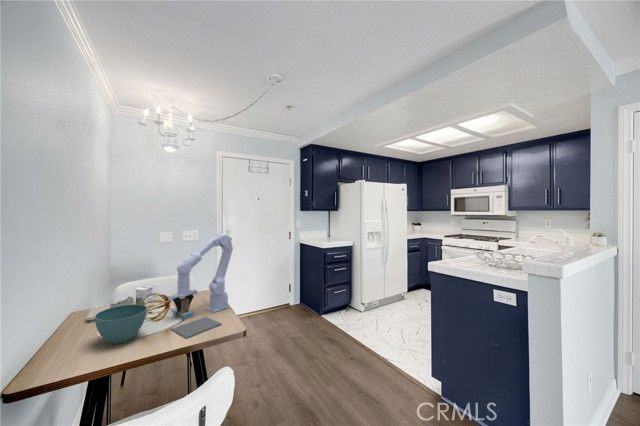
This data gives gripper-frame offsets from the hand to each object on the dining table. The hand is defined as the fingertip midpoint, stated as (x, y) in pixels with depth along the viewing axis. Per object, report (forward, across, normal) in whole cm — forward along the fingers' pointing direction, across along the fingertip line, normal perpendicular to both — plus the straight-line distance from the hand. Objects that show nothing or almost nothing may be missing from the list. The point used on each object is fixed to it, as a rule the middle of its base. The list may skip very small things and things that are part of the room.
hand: (183, 310), depth 139 cm
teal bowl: (+3, +29, +4) cm, 29 cm away
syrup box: (+3, +11, -20) cm, 23 cm away
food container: (+3, +20, -19) cm, 28 cm away
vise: (+3, 0, -3) cm, 4 cm away
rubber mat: (+3, +3, +19) cm, 19 cm away
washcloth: (+4, +25, -35) cm, 43 cm away
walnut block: (+3, 0, 0) cm, 3 cm away
